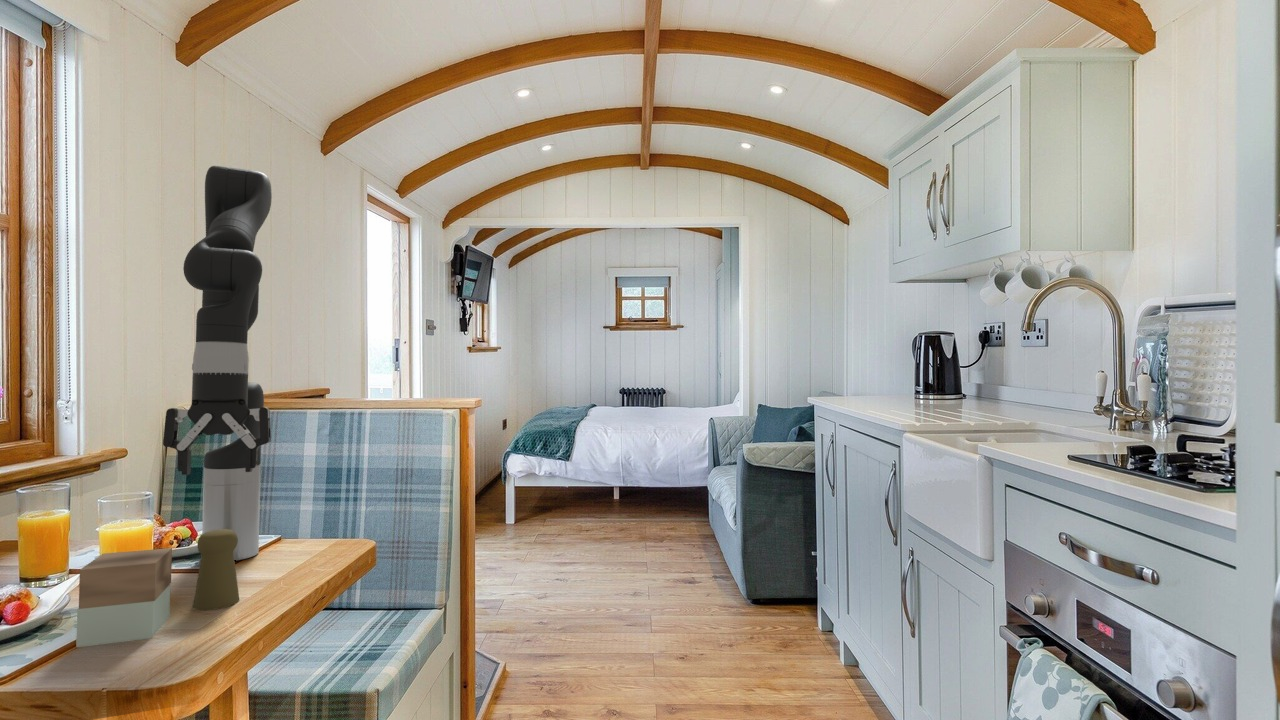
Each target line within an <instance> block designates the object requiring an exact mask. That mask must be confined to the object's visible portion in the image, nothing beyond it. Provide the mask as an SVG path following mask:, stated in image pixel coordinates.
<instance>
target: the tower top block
mask: <svg viewBox="0 0 1280 720" xmlns="http://www.w3.org/2000/svg"><path fill="white" fill-rule="evenodd" d="M172 561H173V548H172V547H169V548H157V549H156V548H155V549H145V550H143V549H142V550H131V551H120V552H119V551H118V552H106V553H102V554H101V555H99V556H97V557H95V558H94V559H93V560H91V562H89V563H88V564H86V565H84V566H83V567H81V568H80V569H79V584H78V585H79V586H78V608H79V609H84V608H93V607H103V606H112V605H121V604H131V603H140V602H149V601H155V600H156V599H157V598H158V597H159V596H160V594H161V593H162V592H163V591H164V590H165V589H166V588H167V587H168V586H169V585H170V586H171V585H172V569H173V568H172V567H173V566H172V564H173V563H172Z"/></svg>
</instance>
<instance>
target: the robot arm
mask: <svg viewBox="0 0 1280 720" xmlns="http://www.w3.org/2000/svg"><path fill="white" fill-rule="evenodd" d="M272 194H273V193H272V184H271V181H270V179H269V177H268V176H267V174H265V173H263V172H261V171H258V170H252V169H245V168H240V167H239V168H237V167H232V166H223V165H211V166H210V167H209V168H208V169H207V171H206V175H205V179H204V208H205V209H204V212H205V213H204V215H205V216H204V219H205V237H203V238H202V239H200V240H199V241H198V242H196V244H194V245H193V246H192V247H191V249H190V250H188V253H187V255H186V257H185V259H184V262H183V275H184V277H185V280H186V281H187V283H188V285H190V286H192V287H193V288H194V289H196V290H199V291H202V295H201V296H202V297H201V299H202V300H201V301H202V302H201V308H199V309H198V311H197V313H196V320H195V321H196V322H195V323H196V324H195V325H196V326H195V345H194V346H195V347H194V352H193V358H192V365H191V370H192V383H191V404H190V407H189V408H187V409H185V408H184V409H182V408H177V407H172V408H168V409H166V411H165V412H166V413H165V422H164V431H163V440H162V444H163V447H165V448H171V449H175V451H176V452H177V466H176V467H177V468H176V469H177V471H178V472H181V475H182V476H188V475H191V472H192V450H191V449H190V448H191V446H192V445H193V444H194V443H195V442H196V441H197V440H199V438H200V437H201V436H202V435H206V436H214V435H217V434H218V435H222V436H226V435H227V436H228V435H233V434H236V436H237V437H238V438H237V439H236V440H234V441H233V442H231V443H229V444H227V445H224V446H221V447H218V448H214V449H212V450H209V451H207V452H206V453H205V454H204V456H203V480H202V481H203V489H202V492H203V493H202V526H201V533H202V534H204V533H205V532H208V531H212V530H219V529H228V530H232V531H235V533H236V534H237V537H238V543H237V546H236V548H235V549H234V551H233V553H234V560H236V561H241V560H246V559H248V558H249V559H250V558H252V557H254V556H256V555H258V554H259V550H260V549H259V548H260V547H259V545H260V544H259V543H260V507H261V506H260V502H261V501H260V500H261V464H262V463H261V460H262V459H261V458H262V456H261V455H262V454H261V451H262V446H263V445H266V444H268V443H270V442H271V440H272V435H271V430H272V429H271V412H270V411H271V410H270V408H269V407H267V406H265V405H264V404H265V399H264V398H265V397H264V391H263V388H262V386H261V384H260V383H257V382H252V381H251V382H249V361H250V360H249V359H250V358H249V350H248V349H249V348H248V335H249V334H248V333H249V330H251V328H252V327H253V325H254V323H255V322H256V320H257V318H258V314H259V298H260V297H259V296H260V295H259V293H260V282H261V279H262V275H263V265H262V262H261V259H260V258H259V257H258V255H256V254H255V253H254V247H255V243H256V238H257V234H258V232H259V230H260V229H261V228H262V226H263V224H264V223H265V221H266V219H267V217H268V216H269V213H270V210H271V208H272V207H271V206H272V198H273V197H272ZM185 417H188V418H189V420H190V421H191V422H192V423H193V427H192V428H191V429H189V431H188V432H187V433H186V435H185V436H184V437H183V438H182V439H181V440H180V439H178V433H179V423H182V422H183V421H184V419H185ZM202 534H201V535H202Z"/></svg>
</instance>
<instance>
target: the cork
mask: <svg viewBox="0 0 1280 720" xmlns="http://www.w3.org/2000/svg"><path fill="white" fill-rule="evenodd" d="M237 543H238V537H237V534H236V533H235V531H232V530H228V529H219V530H212V531H208V532H205V533H204V534H200V536H199V538H198V539H197V551H198V552H199V553H200V556H201V557H200V561H199V562H200V563H199V567H198V574H197V579H196V585H195V591H194V596H193V603H192V609H194V610H197V611H212V610H220V609H224V608H228V607H230V606H234V605H235V604H237V603H238V602H240V593H239V585H238V578H237V571H236V570H237V569H236V564H235V563H236V562H235V561H234V553H233V551H234V549H235V548H236V546H237Z"/></svg>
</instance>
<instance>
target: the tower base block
mask: <svg viewBox="0 0 1280 720" xmlns="http://www.w3.org/2000/svg"><path fill="white" fill-rule="evenodd" d="M170 606H171V584H170V585H169V586H168V587H167V588H166V589H165V590H164V591H163V592H162V593H161V594H160V596H159V597H158V598H157V599H156V600H155V601H149V602H140V603H131V604H121V605H112V606H103V607H93V608H84V609H79V607H78V608H77V609H76V636H75V637H76V639H75V640H76V646H75V647H76V648H84V647H91V646H99V645H100V646H101V645H106V644H114V643H122V642H132V641H139V640H147V639H153V638H154V637H155V635H156V634H157V633H158V632H159V630H161V628H162V627H163V626H164V624H165V623H166V622H167V621H168V620H169V618H170V616H171V614H170V608H171V607H170Z"/></svg>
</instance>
